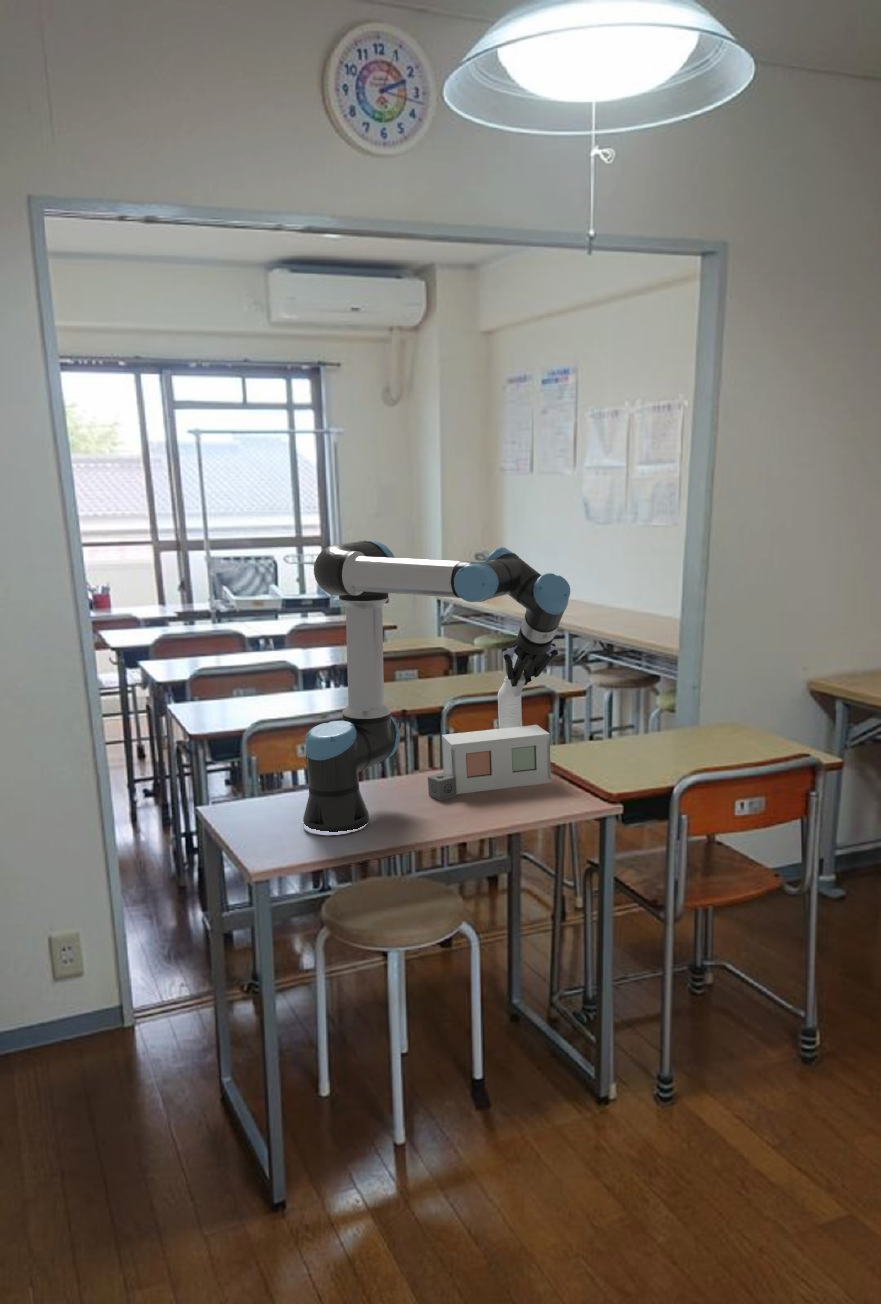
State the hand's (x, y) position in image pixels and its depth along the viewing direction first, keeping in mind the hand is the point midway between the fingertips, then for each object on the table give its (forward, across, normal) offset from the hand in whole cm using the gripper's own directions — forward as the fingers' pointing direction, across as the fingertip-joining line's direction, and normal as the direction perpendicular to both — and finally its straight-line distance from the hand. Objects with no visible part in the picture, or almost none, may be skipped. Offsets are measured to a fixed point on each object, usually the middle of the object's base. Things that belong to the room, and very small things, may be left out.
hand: (515, 691), depth 216 cm
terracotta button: (+29, -6, -5) cm, 30 cm away
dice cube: (+29, -16, -11) cm, 35 cm away
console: (+33, 0, -7) cm, 33 cm away
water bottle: (+42, +9, +2) cm, 43 cm away
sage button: (+29, +6, -5) cm, 30 cm away
